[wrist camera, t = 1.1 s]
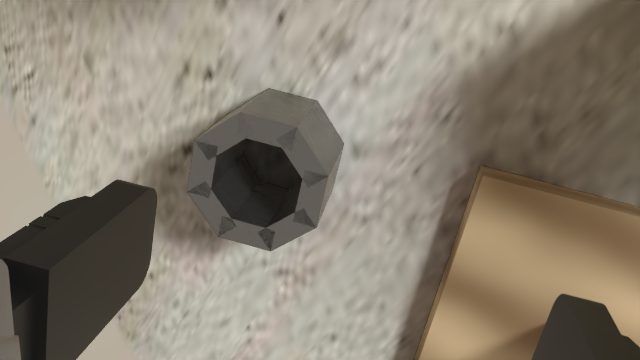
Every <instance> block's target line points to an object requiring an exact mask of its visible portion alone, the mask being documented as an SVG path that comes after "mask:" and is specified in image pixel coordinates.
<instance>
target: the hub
mask: <svg viewBox="0 0 640 360" xmlns="http://www.w3.org/2000/svg"><path fill="white" fill-rule="evenodd" d="M246 138H247V139H251V140H254V141H258V142H262V143H266V144H269V145H273V146H277V147H280V148H282V149H283V150H284V152H285V153H286V155H287V156H288V158H289V159H290V161H291V163H292V164H293V166H294V167H295V169H296V170H297V172H298V173H299V175H300V176H301V178H302V182H301V183H300V184H298V185H296V186H294V187H292V188H291V189H287V188H283V187H279V186H276V185H272V184H268V183H265V182H261V181H259V179H258V178H257V176H256V175H255V173H254V172H253V170H252V169H251V167H250V166H249V164H248V163H247V161H246V160H245V158H244V157H243V151H244V146H245V140H246ZM343 146H344V143H343V141H342V139H341V138H340V136H339V135H338V133H337V131H336V130H335V128H334V127H333V125H332V123H331V122H330V120H329V119H328V117H327V115H326V114H325V112H324V111H323V109H322V107H321V106H320V104H319V103H318V101H316V100H312V99H308V98H304V97H300V96H297V95H293V94H289V93H285V92H281V91H277V90H274V89H270V88H268V89H267V90H265V91H264V92H262V93H261V94H259V95H257V96H256V97H254V98H253V99H251V100H249V101H248V102H246V103H245V104H243V105H241V106H240V107H238V108H237V109H235V110H233V111H232V112H230V113H229V114H227V115H226V116H225V117H223V118H222V119H221V120H220V121H218V122H217V123H216V124H214V125H213V126H212V127H211V128H209V129H208V130H207V131H205V132H204V133H203V134H201V135H200V136H199V137H198V138H196V139H195V140H194V146H193V153H192V160H191V167H190V174H189V181H188V188H187V193H188V194H189V195H190V197H191V198H192V200H193V201H194V203H195V204H196V205H197V207H198V208H199V210H200V211H201V213H202V214H203V215H204V217H205V218H206V220H207V221H208V222H209V224H210V225H211V227H212V228H213V230H214V231H215V232H216V234H217V235H218V237H222V238H225V239H229V240H232V241H236V242H239V243H243V244H247V245H250V246H254V247H257V248H261V249H264V250H268V251H272V250H274V249H276V248H278V247H280V246H282V245H284V244H286V243H288V242H290V241H292V240H294V239H295V238H297V237H299V236H301V235H303V234H305V233H307V232H309V231H311V230H313V229H315V228H316V227H317V225H318V223H319V220H320V218H321V216H322V213H323V211H324V209H325V206H326V204H327V201H328V199H329V197H330V194H331V192H332V190H333V186H334V182H335V178H336V174H337V170H338V166H339V162H340V158H341V154H342V150H343Z"/></svg>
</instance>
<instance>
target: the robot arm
mask: <svg viewBox="0 0 640 360" xmlns="http://www.w3.org/2000/svg"><path fill="white" fill-rule="evenodd" d="M156 205H157V194H156V191H155V189H153V188H149V187H145V186H142V185H138V184H134V183H130V182H126V181H122V180H115V181H114V182H112V183H111V184H109V185H108V186H106V187H105V188H104V189H102V190H101V191H99V192H98V193H96V194H95V195H93V196H92V197H88V196H83V197H80V198H76V199H73V200H69V201H66V202H62V203H60V204H58V205H57V206H55V207H54V208H52V209H51V210H49V211H48V212H46V213H45V214H44V215H43V217H41V216H40V217H38V218H37V219H35V220H34V221H32V222H31V223H29V226H25V227H23V228H22V229H20V230H18V231H17V232H16V233H14V234H12V235H11V236H9V237H8V238H6V239H5V240H3V241H2V242H0V360H76V359H77V358H78V356H79V355H80V354H81V353H82V352H83V351H84V350H85V349H86V348H87V346H88V345H89V344H90V343H91V342H92V341H93V340H94V339H95V337H96V336H97V335H98V334H99V333H100V332H101V331H102V329H103V328H104V327H105V326H106V325H107V324H108V323H109V322H110V320H111V319H112V318H113V317H114V316H115V315H116V314H117V313H118V311H119V310H120V309H121V308H122V307H123V306H124V305H125V304H126V302H127V301H128V300H129V299H130V298H131V297H132V296H133V294H134V293H135V292H136V291H137V290H138V289H139V287H140V286H141V284H142V283H143V281H144V279H145V277H146V274H147V271H148V268H149V264H150V259H151V251H152V242H153V233H154V224H155V214H156ZM531 360H640V347H639V346H638V345H637V344H636V343H635V342H634V341H632V340H631V339H630V338H629V337H627V336H624V335H621V333H620V331H619V330H618V328H617V326H616V324H615V322H614V320H613V318H612V317H611V315H610V313H609V311H608V309H607V307H606V306H605V305H604V304H602V303H599V302H595V301H591V300H587V299H583V298H579V297H575V296H571V295H567V294H560V295H559V296H558V297H557V299H556V300H555V302H554V304H553V306H552V309H551V311H550V314H549V316H548V319H547V321H546V324H545V326H544V329H543V332H542V334H541V337H540V339H539V342H538V344H537V347H536V349H535V352H534V354H533V357H532V359H531Z"/></svg>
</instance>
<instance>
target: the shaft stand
mask: <svg viewBox="0 0 640 360" xmlns="http://www.w3.org/2000/svg"><path fill="white" fill-rule="evenodd" d="M560 294H567V295H571V296H575V297H579V298H583V299H587V300H591V301H595V302H599V303H602V304H604V305H605V306H606V307H607V309H608V311H609V313H610V315H611V317H612V318H613V320H614V322H615V324H616V326H617V328H618V330H619V331H620V333H621V335H624V336H627V337H629V338H630V339H631V340H632V341H634V342H635V343H636V344H637V345H638V346H639V347H640V207H637V206H633V205H629V204H626V203H622V202H618V201H614V200H610V199H607V198H603V197H599V196H595V195H591V194H587V193H584V192H580V191H576V190H572V189H568V188H565V187H561V186H557V185H553V184H549V183H546V182H542V181H538V180H534V179H530V178H527V177H523V176H519V175H515V174H511V173H508V172H504V171H500V170H496V169H492V168H488V167H485V166H480V169H479V172H478V175H477V178H476V181H475V183H474V186H473V189H472V192H471V195H470V198H469V201H468V204H467V207H466V210H465V213H464V215H463V218H462V221H461V224H460V227H459V230H458V233H457V236H456V239H455V242H454V245H453V247H452V250H451V253H450V256H449V259H448V262H447V265H446V268H445V271H444V274H443V277H442V279H441V282H440V285H439V288H438V291H437V294H436V297H435V300H434V303H433V306H432V309H431V311H430V314H429V317H428V320H427V323H426V326H425V329H424V332H423V335H422V338H421V341H420V344H419V346H418V349H417V352H416V355H415V358H414V360H531V359H532V357H533V354H534V352H535V349H536V347H537V344H538V342H539V339H540V337H541V334H542V332H543V329H544V326H545V324H546V321H547V319H548V316H549V314H550V311H551V309H552V306H553V304H554V302H555V300H556V299H557V297H558V296H559V295H560Z"/></svg>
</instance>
